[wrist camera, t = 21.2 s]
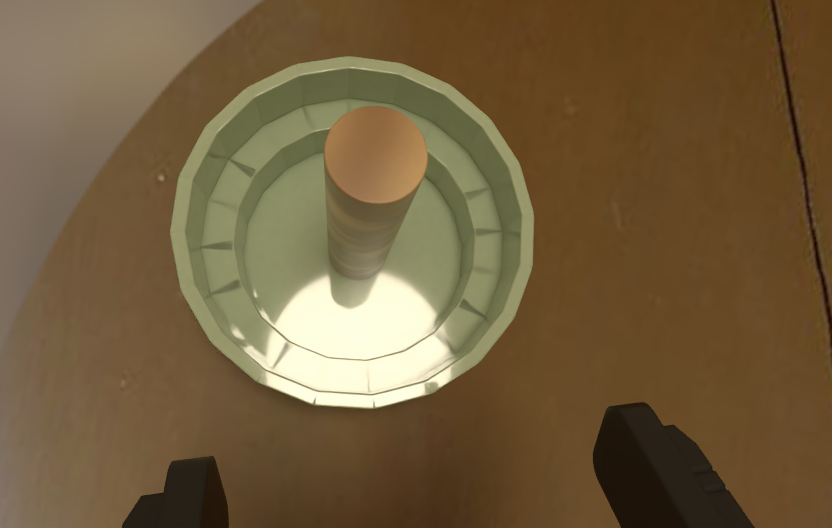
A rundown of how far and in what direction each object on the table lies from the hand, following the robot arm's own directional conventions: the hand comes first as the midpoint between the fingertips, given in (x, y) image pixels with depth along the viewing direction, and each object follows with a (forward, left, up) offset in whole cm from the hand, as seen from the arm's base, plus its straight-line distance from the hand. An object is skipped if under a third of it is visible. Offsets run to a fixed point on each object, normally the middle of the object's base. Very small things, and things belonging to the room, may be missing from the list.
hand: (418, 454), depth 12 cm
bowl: (-1, +8, -18) cm, 20 cm away
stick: (-1, +8, -17) cm, 19 cm away
